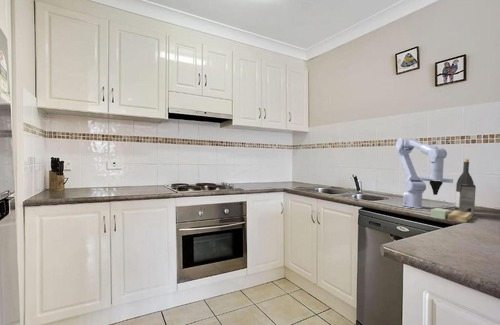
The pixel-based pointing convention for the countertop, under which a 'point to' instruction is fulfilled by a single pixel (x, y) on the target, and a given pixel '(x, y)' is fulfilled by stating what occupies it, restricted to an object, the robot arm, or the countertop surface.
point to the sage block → (440, 213)
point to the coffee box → (467, 198)
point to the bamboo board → (459, 216)
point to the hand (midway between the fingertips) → (435, 194)
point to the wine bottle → (463, 181)
